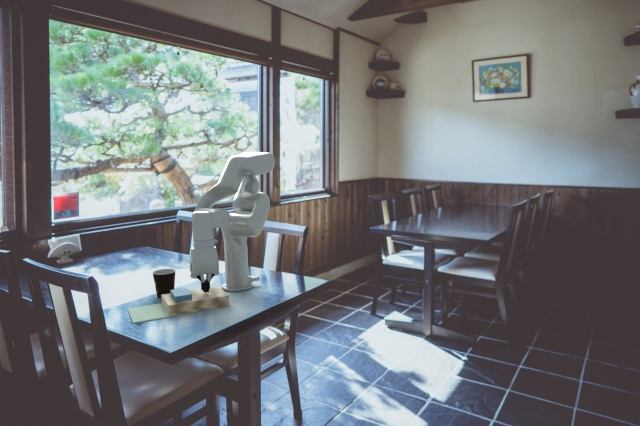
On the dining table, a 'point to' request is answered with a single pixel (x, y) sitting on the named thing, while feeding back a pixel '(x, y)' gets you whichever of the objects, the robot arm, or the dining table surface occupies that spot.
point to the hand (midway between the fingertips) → (205, 291)
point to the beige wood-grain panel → (196, 301)
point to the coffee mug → (164, 281)
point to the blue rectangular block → (181, 294)
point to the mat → (147, 313)
